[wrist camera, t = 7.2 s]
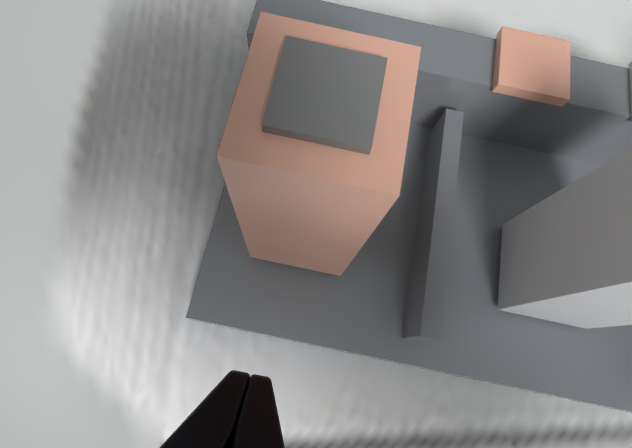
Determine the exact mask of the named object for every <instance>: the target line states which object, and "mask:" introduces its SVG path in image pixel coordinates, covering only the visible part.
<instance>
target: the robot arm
mask: <svg viewBox="0 0 632 448" xmlns="http://www.w3.org/2000/svg"><path fill="white" fill-rule="evenodd" d="M160 448H285V447H284V442H283V437H282V432H281V427H280V422H279V417H278V412H277V407H276V402H275V397H274V392H273V387H272V382H271V379H270V378H269V377H265V376H260V375H255V374H254V375H252V376H251V377H250V375H249V374H248V373H245V372H240V371H235V370H233V371H230V372H229V373H228V374H227V375H226V376H225V377H224V378H223V379H222V380H221V382H220V383H219V384H218V385H217V386H216V387H215V388H214V389H213V390H212V391H211V392H210V393H209V395H208V396H207V397H206V398H205V399H204V400H203V401H202V402H201V403H200V404H199V405H198V407H197V408H196V409H195V410H194V411H193V412H192V413H191V414H190V415H189V416H188V417H187V418H186V420H185V421H184V422H183V423H182V424H181V425H180V426H179V427H178V428H177V429H176V430H175V432H174V433H173V434H172V435H171V436H170V437H169V438H168V439H167V440H166V441H165V442H164V443H163V445H162V446H161V447H160Z"/></svg>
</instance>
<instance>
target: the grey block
mask: <svg viewBox="0 0 632 448" xmlns="http://www.w3.org/2000/svg"><path fill="white" fill-rule="evenodd" d="M497 310H501V311H506V312H511V313H515V314H520V315H525V316H529V317H534V318H539V319H543V320H548V321H553V322H557V323H562V324H567V325H572V326H576V327H581V328H586V329H589V328H601V327H612V326H624V325H632V148H630V149H629V150H627V151H625V152H624V153H622V154H620V155H619V156H617V157H615V158H613V159H612V160H610V161H608V162H607V163H605V164H603V165H602V166H600V167H598V168H597V169H595V170H593V171H592V172H590V173H588V174H586V175H585V176H583V177H581V178H580V179H578V180H576V181H575V182H573V183H571V184H570V185H568V186H566V187H565V188H563V189H561V190H560V191H558V192H556V193H554V194H553V195H551V196H549V197H548V198H546V199H544V200H543V201H541V202H539V203H538V204H536V205H534V206H533V207H531V208H529V209H527V210H526V211H524V212H522V213H521V214H519V215H517V216H516V217H514V218H512V219H511V220H509V221H507V222H506V223H504V224H502V241H501V258H500V275H499V292H498V309H497Z"/></svg>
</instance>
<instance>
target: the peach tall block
mask: <svg viewBox="0 0 632 448" xmlns="http://www.w3.org/2000/svg"><path fill="white" fill-rule="evenodd" d="M420 52H421V47H419V46H415V45H410V44H406V43H401V42H397V41H392V40H388V39H383V38H379V37H374V36H369V35H365V34H360V33H356V32H351V31H347V30H342V29H338V28H333V27H329V26H324V25H320V24H315V23H311V22H306V21H302V20H297V19H292V18H288V17H283V16H279V15H274V14H270V13H265V12H261V13H260V16H259V19H258V23H257V26H256V29H255V32H254V36H253V39H252V42H251V45H250V49H249V52H248V55H247V58H246V62H245V65H244V68H243V71H242V74H241V78H240V81H239V84H238V87H237V91H236V94H235V97H234V100H233V104H232V107H231V110H230V113H229V117H228V120H227V123H226V126H225V129H224V133H223V136H222V139H221V142H220V146H219V149H218V152H217V155H216V157H217V160H218V163H219V166H220V169H221V172H222V175H223V178H224V181H225V184H226V186H227V189H228V192H229V195H230V198H231V201H232V204H233V207H234V210H235V213H236V216H237V219H238V222H239V225H240V228H241V231H242V234H243V237H244V240H245V243H246V246H247V249H248V252H249V255H250V257H253V258H258V259H262V260H267V261H272V262H277V263H281V264H286V265H291V266H295V267H300V268H305V269H309V270H314V271H319V272H323V273H328V274H333V275H337V276H341V275H342V273H343V272H344V271H345V269H346V268H347V267H348V265H349V264H350V263H351V261H352V260H353V258H354V257H355V256H356V254H357V253H358V252H359V250H360V249H361V248H362V246H363V245H364V243H365V242H366V241H367V239H368V238H369V237H370V235H371V234H372V233H373V231H374V230H375V228H376V227H377V226H378V224H379V223H380V222H381V220H382V219H383V218H384V216H385V215H386V213H387V212H388V211H389V209H390V208H391V207H392V205H393V204H394V203H395V201H396V200H397V199H398V197H399V196H400V189H401V182H402V176H403V169H404V162H405V155H406V148H407V141H408V134H409V128H410V121H411V114H412V107H413V100H414V93H415V87H416V80H417V73H418V66H419V59H420Z"/></svg>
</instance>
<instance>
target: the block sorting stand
mask: <svg viewBox="0 0 632 448" xmlns="http://www.w3.org/2000/svg"><path fill="white" fill-rule="evenodd" d="M261 12H265V13H270V14H274V15H279V16H283V17H288V18H292V19H297V20H302V21H306V22H311V23H315V24H320V25H324V26H329V27H333V28H338V29H342V30H347V31H351V32H356V33H360V34H365V35H369V36H374V37H379V38H383V39H388V40H392V41H397V42H401V43H406V44H410V45H415V46H419V47H421V52H420V59H419V66H418V73H417V80H416V87H415V93H414V100H413V107H412V114H411V121H410V128H409V134H408V141H407V148H406V155H405V162H404V169H403V176H402V182H401V189H400V196H399V197H398V199H397V200H396V201H395V203H394V204H393V205H392V207H391V208H390V209H389V211H388V212H387V213H386V215H385V216H384V218H383V219H382V220H381V222H380V223H379V224H378V226H377V227H376V228H375V230H374V231H373V233H372V234H371V235H370V237H369V238H368V239H367V241H366V242H365V243H364V245H363V246H362V248H361V249H360V250H359V252H358V253H357V254H356V256H355V257H354V258H353V260H352V261H351V263H350V264H349V265H348V267H347V268H346V269H345V271H344V272H343V273H342V275H341V276H337V275H333V274H328V273H323V272H319V271H314V270H309V269H305V268H300V267H295V266H291V265H286V264H281V263H277V262H272V261H267V260H262V259H258V258H253V257H250V255H249V252H248V249H247V246H246V243H245V240H244V237H243V234H242V231H241V228H240V225H239V222H238V219H237V216H236V213H235V210H234V207H233V204H232V201H231V198H230V195H229V192H228V189H227V186H226V184H225V186H224V190H223V193H222V197H221V200H220V203H219V207H218V210H217V214H216V217H215V220H214V224H213V227H212V231H211V234H210V237H209V241H208V244H207V248H206V251H205V254H204V258H203V261H202V265H201V268H200V271H199V275H198V278H197V282H196V285H195V288H194V292H193V295H192V299H191V302H190V305H189V309H188V312H187V316H186V318H189V319H192V320H196V321H201V322H205V323H210V324H215V325H220V326H224V327H229V328H234V329H239V330H243V331H248V332H253V333H257V334H262V335H267V336H272V337H276V338H281V339H286V340H291V341H295V342H300V343H305V344H310V345H314V346H319V347H324V348H329V349H333V350H338V351H343V352H347V353H352V354H357V355H362V356H366V357H371V358H376V359H381V360H385V361H390V362H395V363H400V364H404V365H409V366H414V367H419V368H423V369H428V370H433V371H437V372H442V373H447V374H452V375H456V376H461V377H466V378H471V379H475V380H480V381H485V382H490V383H494V384H499V385H504V386H509V387H513V388H518V389H523V390H527V391H532V392H537V393H542V394H546V395H551V396H556V397H561V398H565V399H570V400H575V401H580V402H584V403H589V404H594V405H599V406H603V407H608V408H613V409H617V410H622V411H627V412H632V325H624V326H612V327H601V328H589V329H586V328H581V327H576V326H572V325H567V324H562V323H557V322H553V321H548V320H543V319H539V318H534V317H529V316H525V315H520V314H515V313H511V312H506V311H501V310H497V309H498V292H499V275H500V258H501V241H502V224H504V223H506V222H507V221H509V220H511V219H512V218H514V217H516V216H517V215H519V214H521V213H522V212H524V211H526V210H527V209H529V208H531V207H533V206H534V205H536V204H538V203H539V202H541V201H543V200H544V199H546V198H548V197H549V196H551V195H553V194H554V193H556V192H558V191H560V190H561V189H563V188H565V187H566V186H568V185H570V184H571V183H573V182H575V181H576V180H578V179H580V178H581V177H583V176H585V175H586V174H588V173H590V172H592V171H593V170H595V169H597V168H598V167H600V166H602V165H603V164H605V163H607V162H608V161H610V160H612V159H613V158H615V157H617V156H619V155H620V154H622V153H624V152H625V151H627V150H629V149H630V148H632V62H631V63H630V64H629V69H628V68H623V67H619V66H614V65H610V64H605V63H601V62H596V61H592V60H587V59H583V58H578V57H574V56H570V41H567V40H562V39H558V38H553V37H549V36H544V35H540V34H535V33H531V32H526V31H522V30H517V29H513V28H508V27H504V26H502V28H501V29H500V31H499V32H498V34H497V37H496V39H492V38H488V37H483V36H479V35H474V34H470V33H465V32H461V31H456V30H452V29H447V28H443V27H438V26H434V25H429V24H425V23H420V22H416V21H411V20H407V19H402V18H398V17H393V16H389V15H384V14H379V13H375V12H370V11H366V10H361V9H357V8H352V7H348V6H343V5H339V4H334V3H330V2H325V1H321V0H257V2H256V5H255V9H254V12H253V15H252V18H251V21H250V24H249V28H248V31H247V38H248V47H249V49H250V45H251V42H252V39H253V36H254V32H255V29H256V26H257V23H258V19H259V16H260V13H261Z"/></svg>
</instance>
